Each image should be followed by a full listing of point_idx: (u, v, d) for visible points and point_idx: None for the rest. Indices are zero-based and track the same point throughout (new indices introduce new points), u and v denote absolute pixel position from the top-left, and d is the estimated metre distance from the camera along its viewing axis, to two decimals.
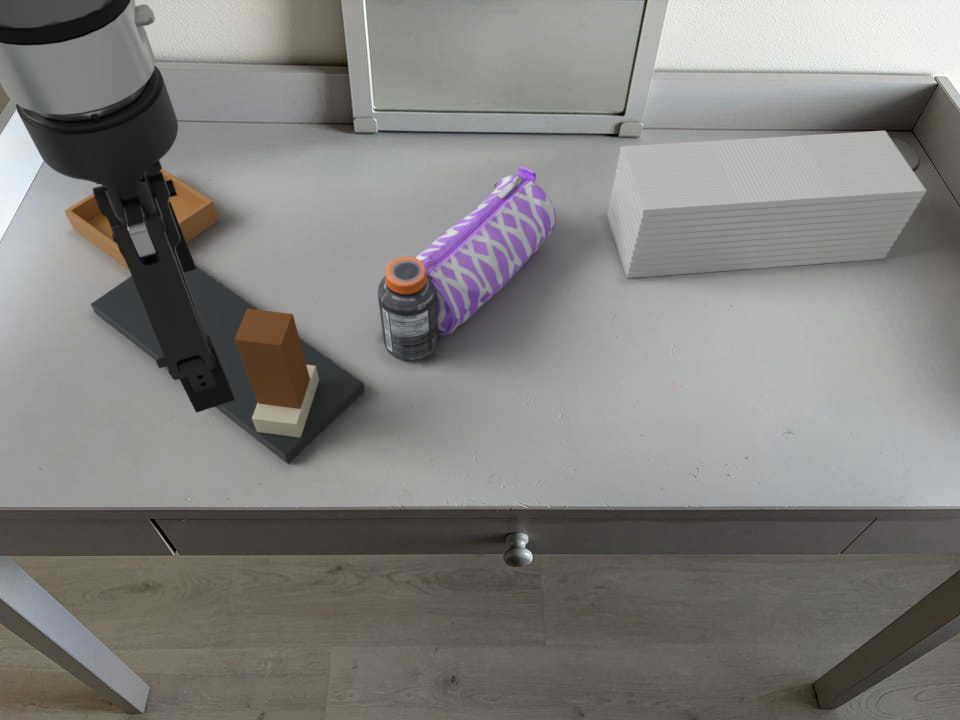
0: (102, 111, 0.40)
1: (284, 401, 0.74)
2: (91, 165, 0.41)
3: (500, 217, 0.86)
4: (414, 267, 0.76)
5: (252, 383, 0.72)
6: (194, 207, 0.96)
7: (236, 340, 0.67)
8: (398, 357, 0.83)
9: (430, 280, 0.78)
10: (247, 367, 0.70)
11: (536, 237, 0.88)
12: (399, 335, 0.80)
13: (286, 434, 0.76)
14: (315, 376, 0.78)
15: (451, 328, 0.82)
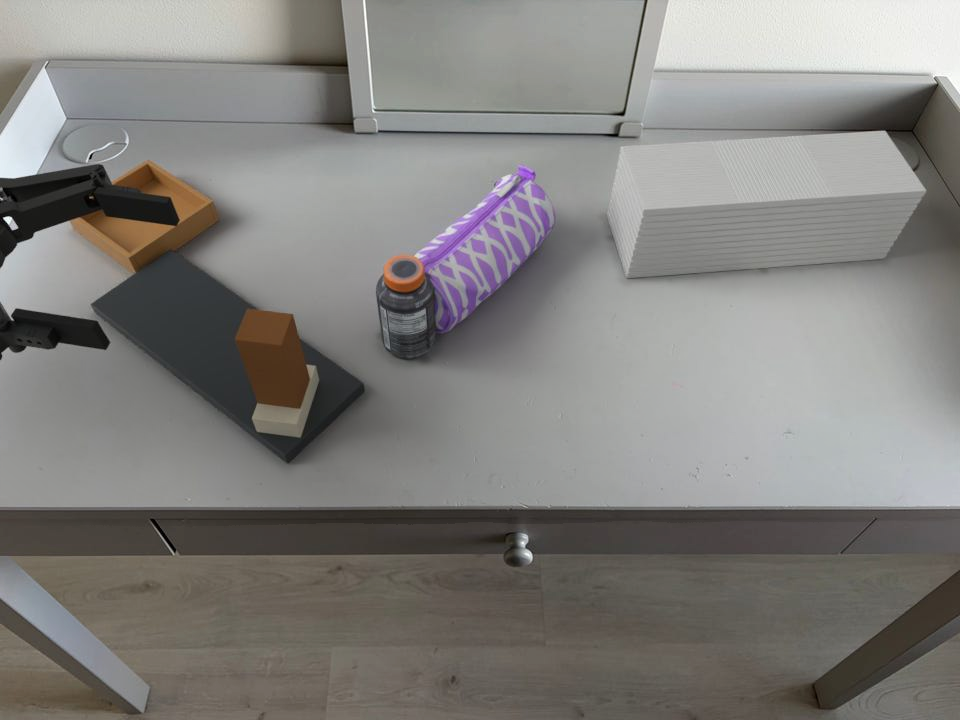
0: None
1: (284, 401, 0.74)
2: None
3: (499, 216, 0.86)
4: (412, 265, 0.76)
5: (252, 383, 0.72)
6: (194, 207, 0.96)
7: (236, 340, 0.67)
8: (396, 355, 0.83)
9: (428, 278, 0.78)
10: (247, 367, 0.70)
11: (534, 236, 0.88)
12: (397, 333, 0.80)
13: (286, 434, 0.76)
14: (315, 376, 0.78)
15: (449, 326, 0.82)
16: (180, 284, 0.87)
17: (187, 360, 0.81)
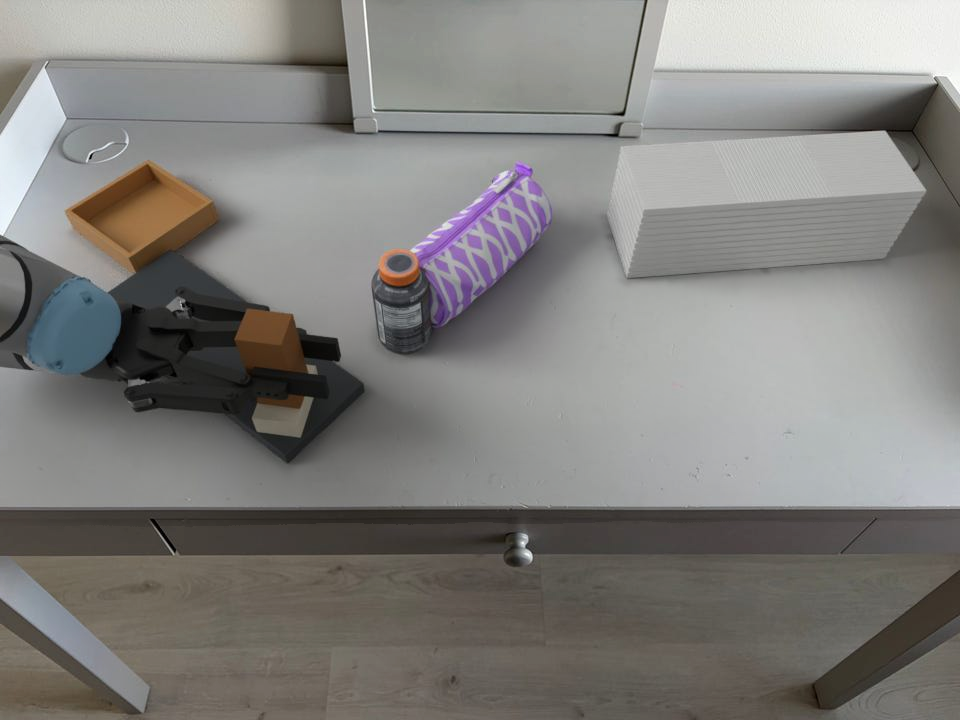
0: None
1: (284, 401, 0.74)
2: None
3: (495, 212, 0.86)
4: (408, 259, 0.77)
5: None
6: (194, 207, 0.96)
7: (236, 340, 0.67)
8: (391, 349, 0.83)
9: (423, 273, 0.79)
10: (247, 367, 0.70)
11: (531, 233, 0.88)
12: (392, 327, 0.80)
13: (286, 434, 0.76)
14: None
15: (444, 321, 0.82)
16: (180, 284, 0.87)
17: None
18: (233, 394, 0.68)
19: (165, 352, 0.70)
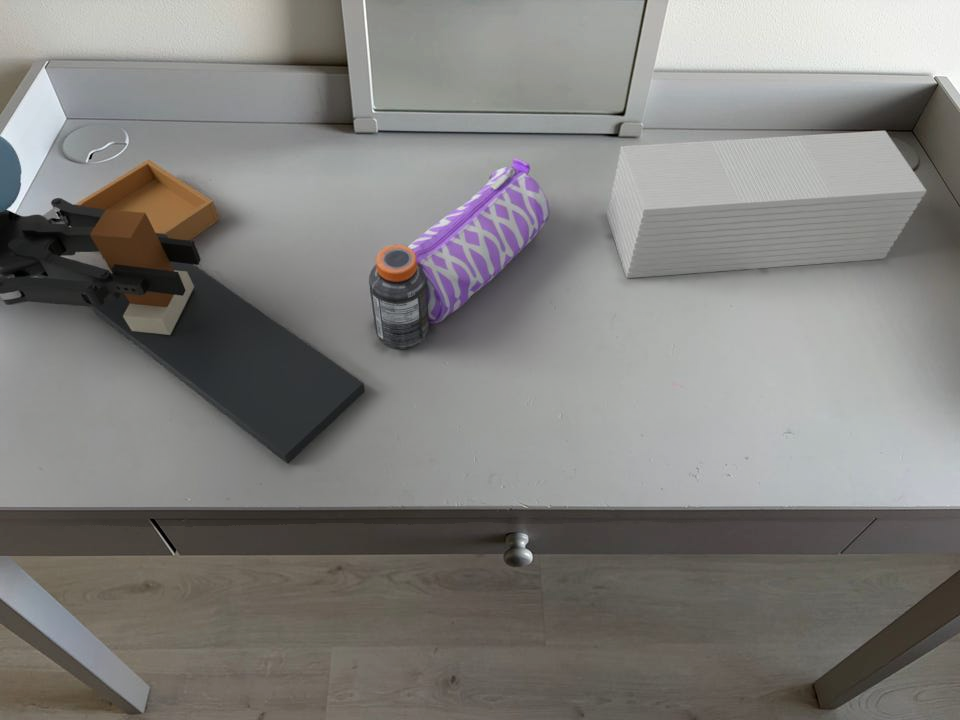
0: None
1: (151, 299, 0.81)
2: None
3: (493, 208, 0.87)
4: (405, 255, 0.77)
5: None
6: (194, 207, 0.96)
7: (91, 235, 0.74)
8: (389, 344, 0.84)
9: (421, 268, 0.79)
10: (109, 264, 0.77)
11: (528, 229, 0.89)
12: (389, 322, 0.81)
13: (157, 332, 0.82)
14: (187, 281, 0.85)
15: (441, 316, 0.82)
16: None
17: (187, 360, 0.81)
18: (92, 286, 0.75)
19: (34, 251, 0.77)
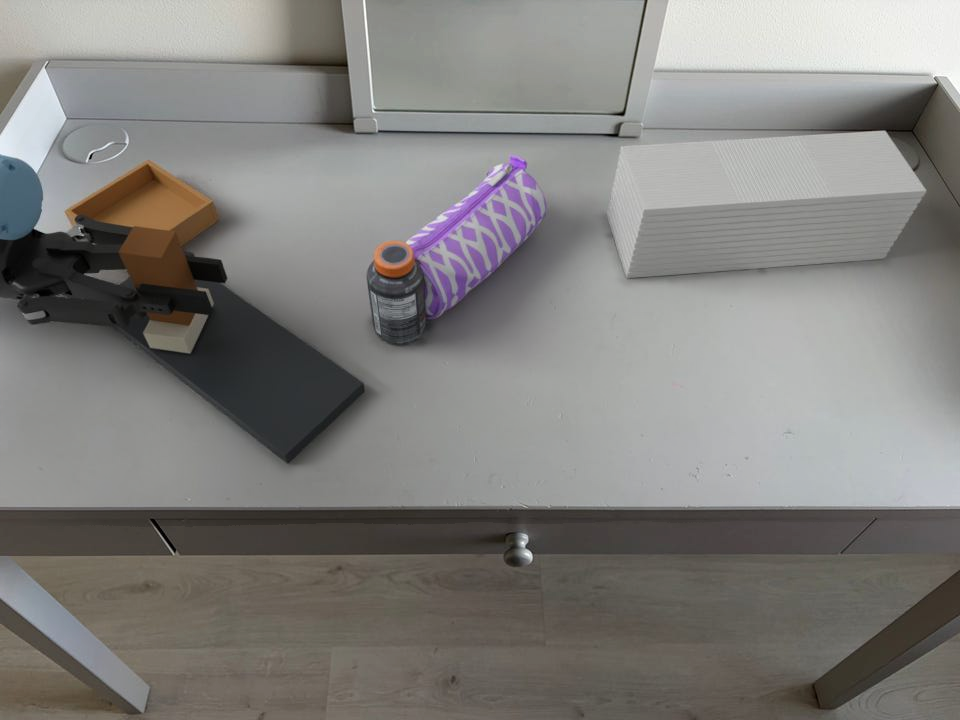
0: None
1: (173, 317, 0.79)
2: None
3: (490, 204, 0.87)
4: (402, 250, 0.78)
5: None
6: (194, 207, 0.96)
7: (120, 252, 0.72)
8: (386, 340, 0.84)
9: (418, 264, 0.80)
10: (134, 281, 0.75)
11: (525, 225, 0.89)
12: (387, 318, 0.81)
13: (177, 350, 0.81)
14: None
15: (438, 312, 0.83)
16: None
17: (187, 360, 0.81)
18: (118, 306, 0.74)
19: (59, 270, 0.76)
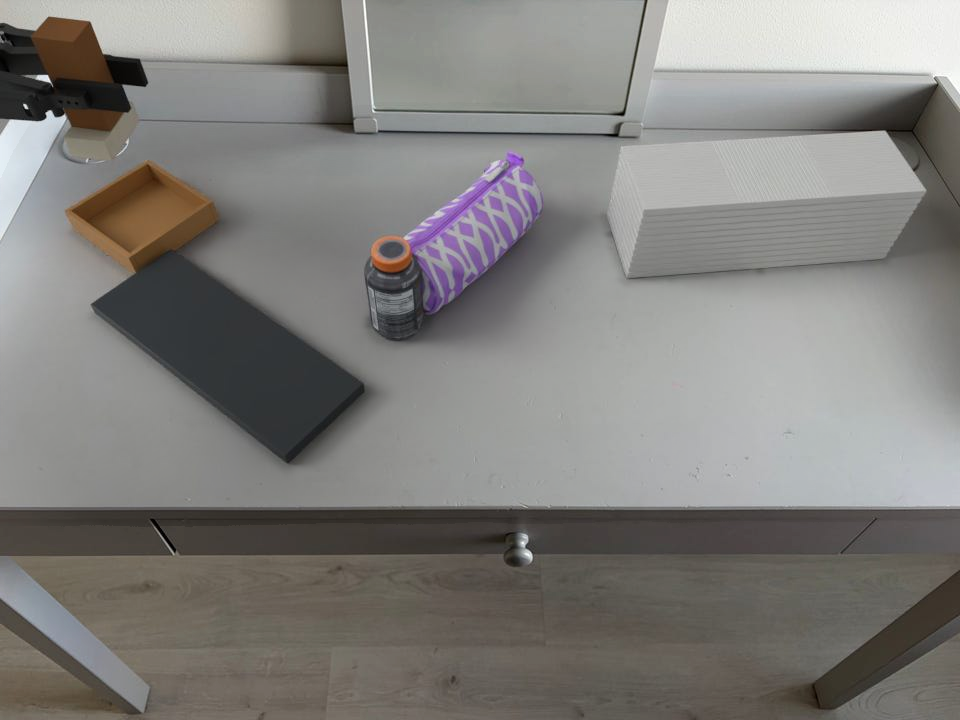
0: None
1: (93, 121, 0.79)
2: None
3: (487, 200, 0.87)
4: (400, 246, 0.78)
5: None
6: (194, 207, 0.96)
7: (32, 37, 0.72)
8: (384, 335, 0.85)
9: (415, 259, 0.80)
10: (50, 75, 0.75)
11: (522, 221, 0.90)
12: (384, 313, 0.81)
13: (99, 158, 0.80)
14: (132, 112, 0.83)
15: (436, 307, 0.83)
16: (180, 284, 0.87)
17: (187, 360, 0.81)
18: (32, 96, 0.73)
19: None
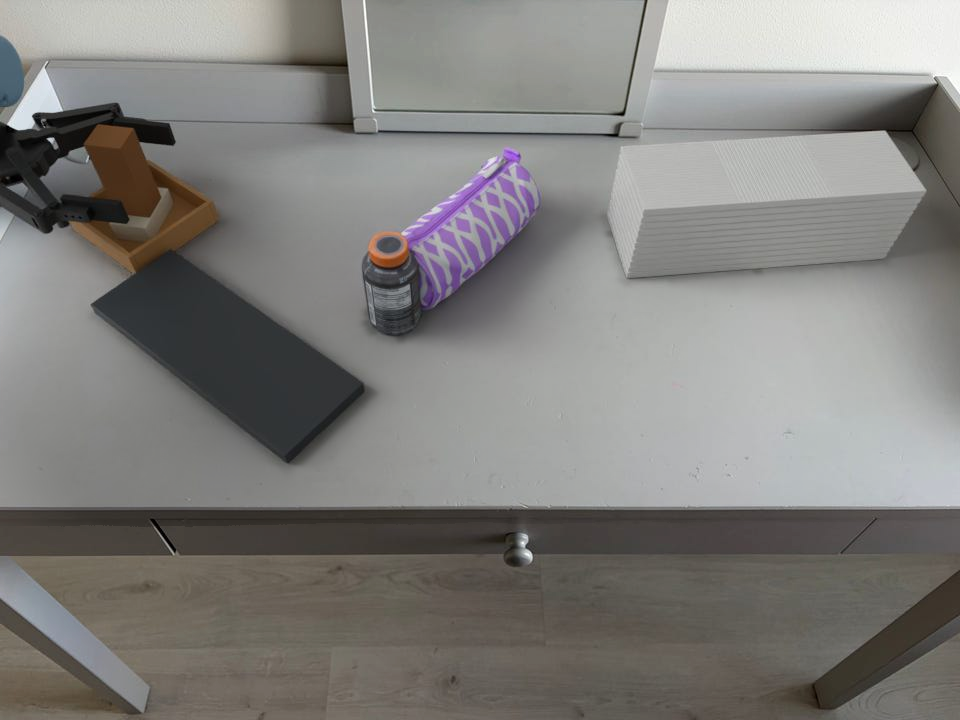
0: None
1: (135, 209, 0.91)
2: None
3: (484, 196, 0.88)
4: (397, 241, 0.78)
5: (106, 191, 0.89)
6: (194, 207, 0.96)
7: (85, 145, 0.84)
8: (381, 331, 0.85)
9: (413, 255, 0.80)
10: (99, 174, 0.87)
11: (519, 217, 0.90)
12: (382, 308, 0.82)
13: (139, 240, 0.92)
14: (167, 197, 0.95)
15: (433, 302, 0.84)
16: (180, 284, 0.87)
17: (187, 360, 0.81)
18: (39, 214, 0.81)
19: (19, 163, 0.86)
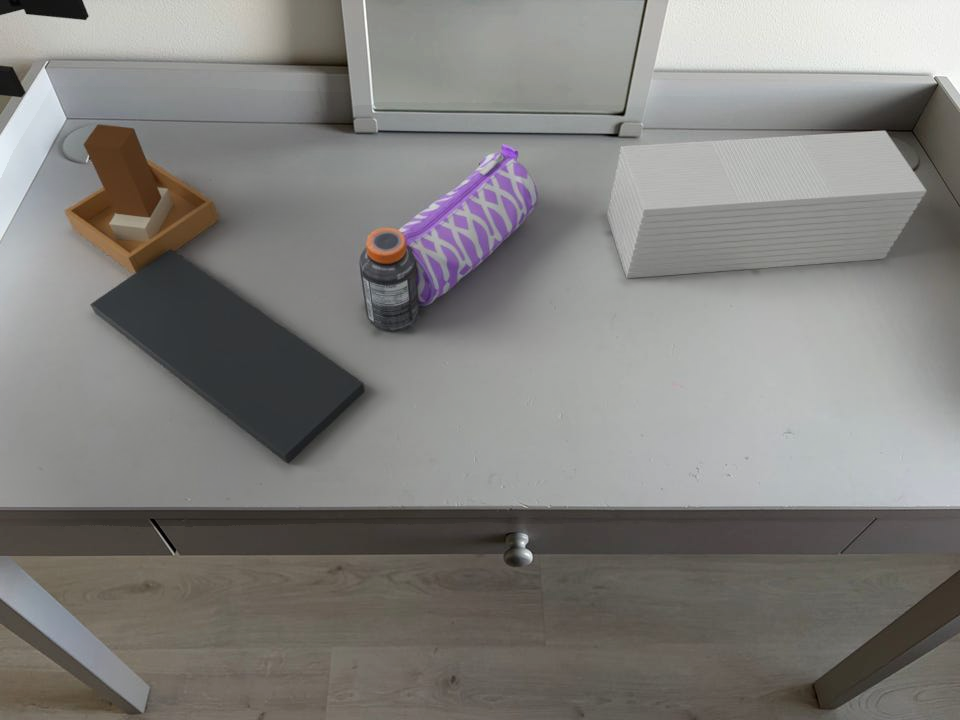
0: None
1: (135, 209, 0.91)
2: None
3: (481, 193, 0.88)
4: (394, 237, 0.79)
5: (106, 191, 0.89)
6: (194, 207, 0.96)
7: (85, 145, 0.84)
8: (379, 327, 0.85)
9: (410, 251, 0.81)
10: (99, 174, 0.87)
11: (516, 214, 0.90)
12: (379, 305, 0.82)
13: (139, 240, 0.92)
14: (167, 197, 0.95)
15: (430, 299, 0.84)
16: (180, 284, 0.87)
17: (187, 360, 0.81)
18: None
19: None
